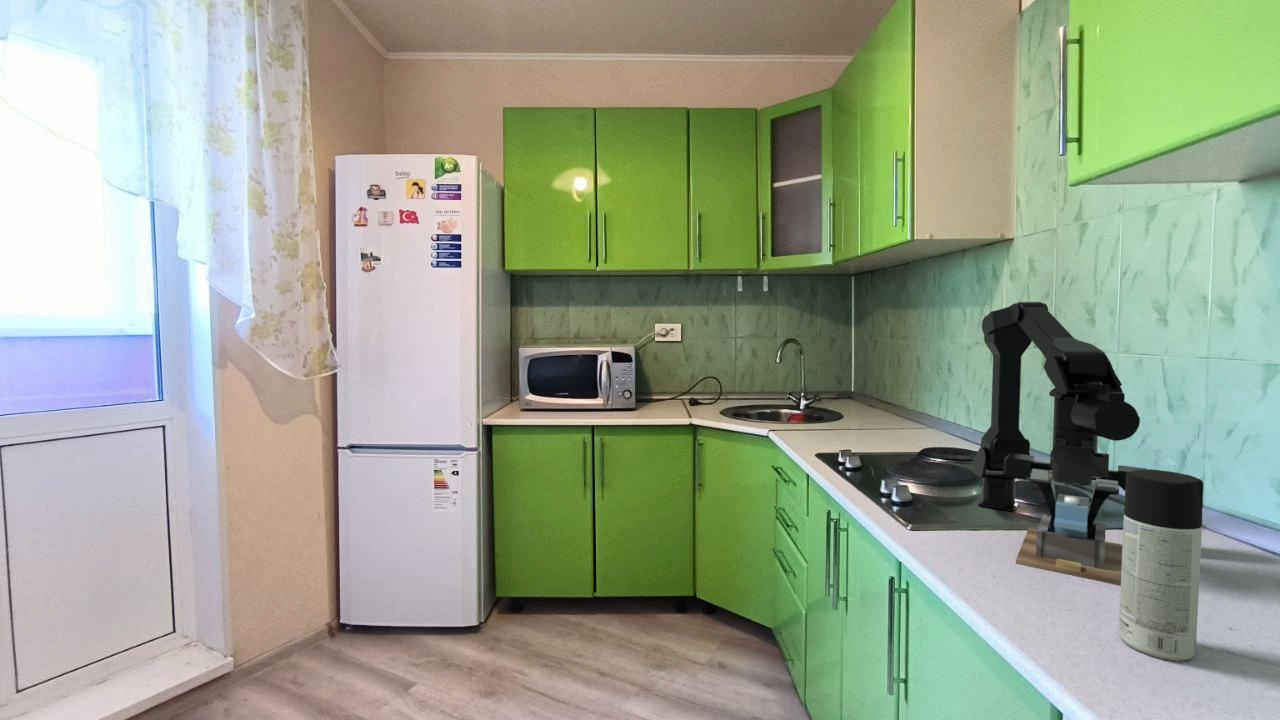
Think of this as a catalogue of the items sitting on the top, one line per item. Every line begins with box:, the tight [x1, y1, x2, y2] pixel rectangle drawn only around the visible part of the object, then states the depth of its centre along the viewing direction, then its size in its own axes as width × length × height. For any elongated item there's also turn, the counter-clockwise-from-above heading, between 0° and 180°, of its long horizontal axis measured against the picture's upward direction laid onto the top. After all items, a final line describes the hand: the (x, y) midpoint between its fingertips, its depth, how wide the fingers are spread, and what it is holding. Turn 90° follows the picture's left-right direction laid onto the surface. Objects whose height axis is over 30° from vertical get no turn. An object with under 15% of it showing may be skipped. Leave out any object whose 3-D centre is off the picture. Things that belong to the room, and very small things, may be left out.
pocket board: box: [1015, 513, 1123, 586], centre depth 93 cm, size 18×13×4 cm
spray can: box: [1118, 468, 1204, 662], centre depth 66 cm, size 7×7×20 cm
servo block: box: [1054, 493, 1090, 538], centre depth 93 cm, size 12×4×8 cm, turn 141°
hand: (1071, 524), depth 93 cm, fingers closed on servo block, 4 cm apart
